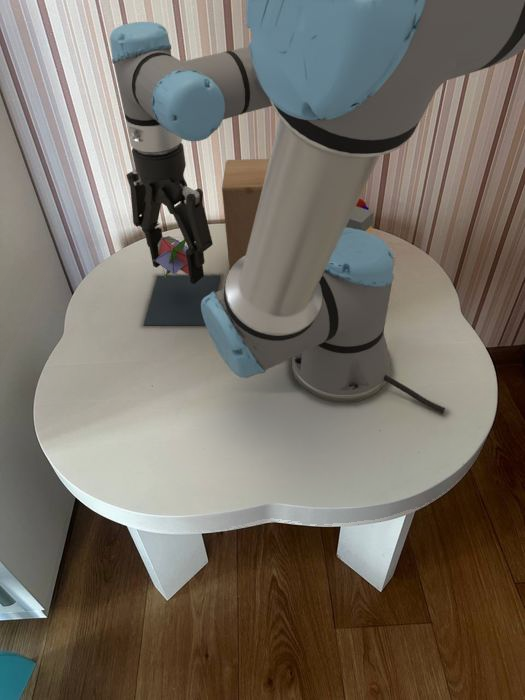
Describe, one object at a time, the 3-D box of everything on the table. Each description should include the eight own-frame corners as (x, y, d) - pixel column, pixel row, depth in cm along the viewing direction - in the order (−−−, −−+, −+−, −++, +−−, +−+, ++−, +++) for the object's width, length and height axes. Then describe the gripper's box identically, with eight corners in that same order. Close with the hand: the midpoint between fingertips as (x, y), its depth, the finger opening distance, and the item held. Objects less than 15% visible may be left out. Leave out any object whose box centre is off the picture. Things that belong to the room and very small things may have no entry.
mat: (212, 325, 97) (212, 324, 97) (143, 325, 98) (143, 324, 98) (219, 276, 107) (219, 275, 107) (157, 276, 108) (157, 275, 108)
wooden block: (284, 284, 105) (283, 185, 91) (230, 285, 105) (221, 187, 91) (284, 253, 112) (283, 157, 98) (233, 254, 112) (225, 158, 98)
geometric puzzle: (213, 260, 97) (186, 220, 94) (190, 281, 93) (161, 241, 90) (189, 271, 102) (162, 233, 99) (166, 292, 98) (137, 253, 95)
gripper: (88, 138, 84) (120, 262, 100) (194, 173, 76) (211, 303, 92) (124, 120, 89) (149, 242, 105) (229, 151, 80) (238, 279, 96)
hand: (178, 271), depth 98 cm, fingers closed on geometric puzzle, 8 cm apart
